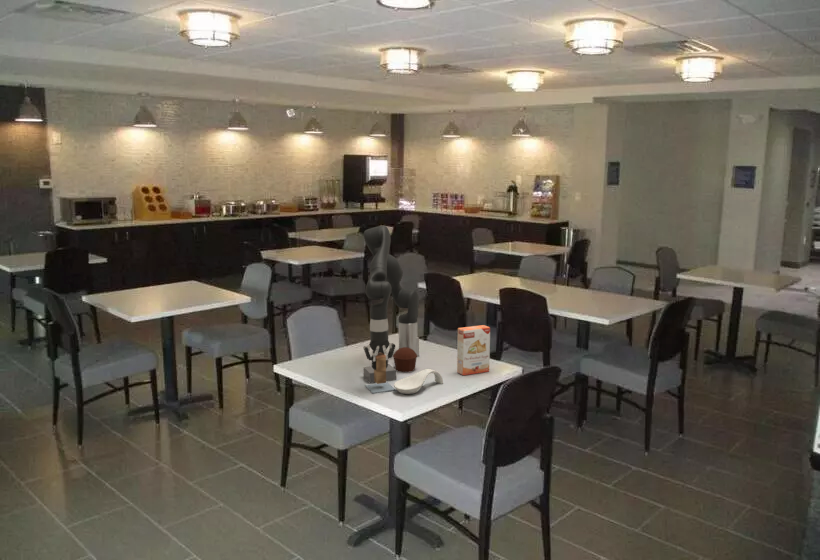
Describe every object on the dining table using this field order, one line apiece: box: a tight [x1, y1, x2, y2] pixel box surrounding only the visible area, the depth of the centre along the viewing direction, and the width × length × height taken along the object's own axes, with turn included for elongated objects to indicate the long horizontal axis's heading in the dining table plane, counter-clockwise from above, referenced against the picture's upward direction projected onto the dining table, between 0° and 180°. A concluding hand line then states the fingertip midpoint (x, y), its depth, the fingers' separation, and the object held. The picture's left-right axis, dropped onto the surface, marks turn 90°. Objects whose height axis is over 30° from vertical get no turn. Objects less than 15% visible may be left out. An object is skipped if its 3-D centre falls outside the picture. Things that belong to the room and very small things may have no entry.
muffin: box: [392, 347, 418, 373], centre depth 301 cm, size 12×11×10 cm
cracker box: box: [456, 324, 491, 376], centre depth 294 cm, size 14×6×21 cm, turn 115°
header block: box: [362, 363, 397, 384], centre depth 288 cm, size 12×10×4 cm
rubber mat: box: [365, 381, 397, 394], centre depth 275 cm, size 10×10×1 cm
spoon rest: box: [393, 368, 444, 395], centre depth 274 cm, size 24×12×7 cm, turn 132°
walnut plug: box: [374, 353, 387, 384], centre depth 274 cm, size 4×4×12 cm
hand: (379, 368), depth 274 cm, fingers closed on walnut plug, 4 cm apart
